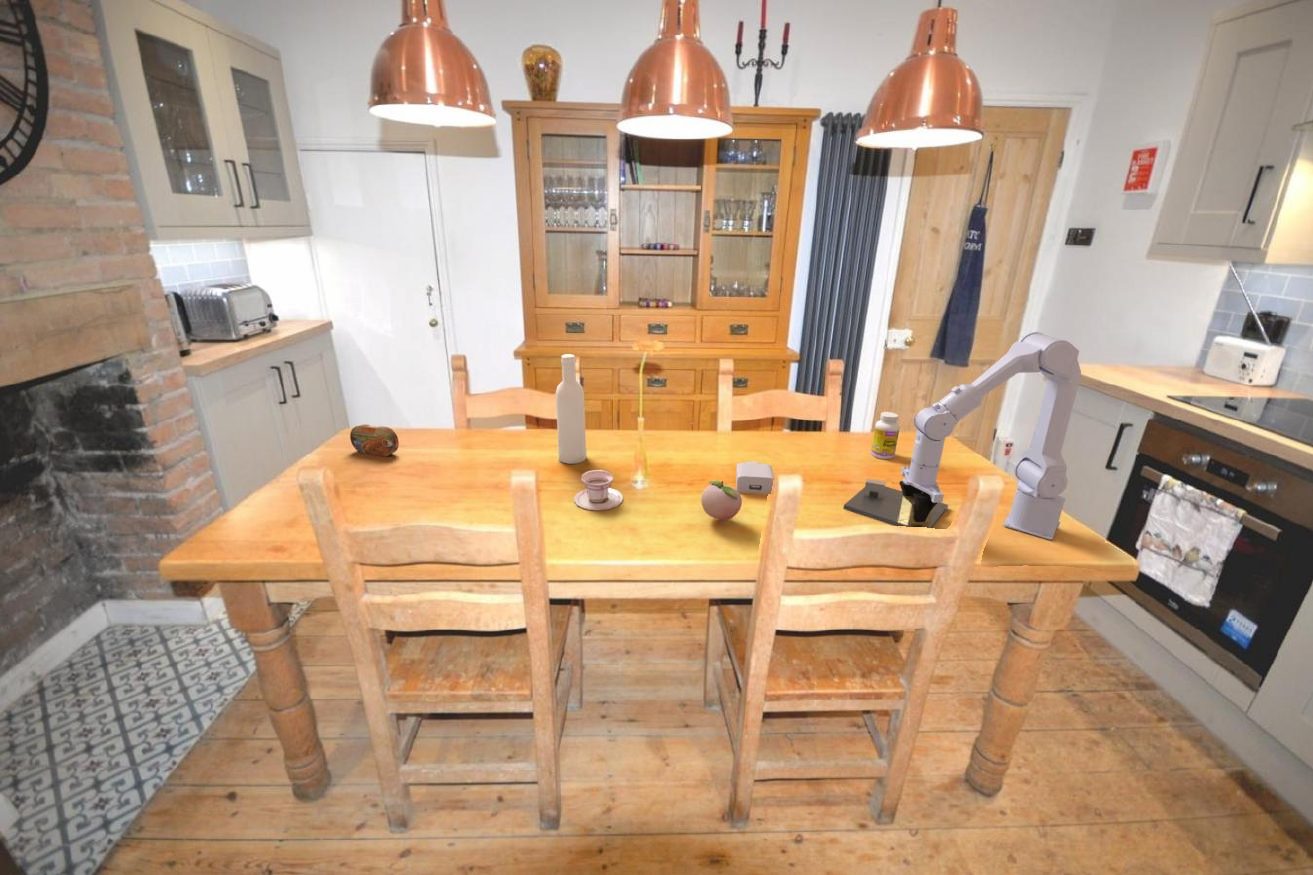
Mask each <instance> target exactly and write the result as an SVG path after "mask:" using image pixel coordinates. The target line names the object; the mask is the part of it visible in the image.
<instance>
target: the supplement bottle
mask: <svg viewBox="0 0 1313 875" xmlns="http://www.w3.org/2000/svg"><path fill="white" fill-rule="evenodd" d="M898 419H899V414H897V413H895V412H891V411H883V412H880V420H878V421H876V422H875V426H874V431H873V437H872V444H871V449H870V454H871V455H872V456H873V457H875V458H877V459H882V460H890V459H893V458H894V457H895V455H896V449H897V445H898V439H899V432H900V427H901V426H900V424H899V423H898V422H897V421H898Z"/></svg>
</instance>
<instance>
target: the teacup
mask: <svg viewBox="0 0 1313 875" xmlns="http://www.w3.org/2000/svg"><path fill="white" fill-rule="evenodd" d="M580 479H581V482H582V484H583V485H584V487H585V489H583V490H580V491H579V492H578V493H576V494H575V495H574V497H573V500H574V501H573V502H574V504H576V507H577V506H578V507H579V508H581V509H583V510H588V511H597V512H598V511H607V510H611V509H615V508H616V507H618V506H619V505H621V503H623V500H624V496H623V494H622V493H621V492H620V491H619V490H617V489H616V488H615V489H614V488H611V484H612V482H613V481H614V475H613V474H612V473H611V472H609V471H606V470H603V469H592V470H588V471H585V472H583V474H582V475H581V478H580ZM605 499H607V501H605ZM590 500H591V501H590ZM604 501H605V502H604Z"/></svg>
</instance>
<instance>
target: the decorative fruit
mask: <svg viewBox="0 0 1313 875" xmlns="http://www.w3.org/2000/svg"><path fill="white" fill-rule="evenodd" d="M708 483H709V485H708V486H707V487H706V488H705V489H704V490H703V492H702V493H701V497H700V498H701V500H700V502H701V507H702V508H703V510H704V512H705V513H706V515H708V516H709V517H711V518H713V519H716V520H717V521H721V522H723V521H728V520H730V519H732V518H735V517H736V515H737V514H738V513H739V511H740V510H741V508H742V503H743V499H742V496H741V494H740V492H738V491H737V488H734V487H732V486H729V485H726V484H725V483H724V481H723V480H722V481H720V480H715V479H714V480H709V481H708Z"/></svg>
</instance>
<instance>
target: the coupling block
mask: <svg viewBox="0 0 1313 875" xmlns="http://www.w3.org/2000/svg"><path fill="white" fill-rule="evenodd" d="M931 512H932V510H931ZM931 512H930V513H929V515H928V517H927V519H926V520H925V522H916V521H915V518H914V515H915V500H914V497H913V496H903V499H902V504H901V509H900V514H899V515H900V516H901V517H902V518H903V519H904V520H905V521H906V522H907V523H908V524H919V523H929V521H930V516H931Z"/></svg>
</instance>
